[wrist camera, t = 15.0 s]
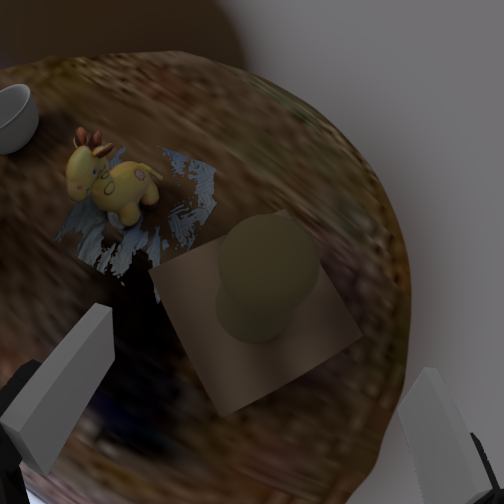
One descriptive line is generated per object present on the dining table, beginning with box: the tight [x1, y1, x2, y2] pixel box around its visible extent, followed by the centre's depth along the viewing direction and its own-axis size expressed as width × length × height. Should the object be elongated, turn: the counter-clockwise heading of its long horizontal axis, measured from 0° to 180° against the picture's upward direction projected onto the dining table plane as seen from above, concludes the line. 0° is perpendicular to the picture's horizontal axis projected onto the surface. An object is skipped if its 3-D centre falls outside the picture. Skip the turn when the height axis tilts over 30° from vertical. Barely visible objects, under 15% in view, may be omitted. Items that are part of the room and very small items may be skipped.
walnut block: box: [148, 209, 363, 418], centre depth 29 cm, size 13×13×8 cm
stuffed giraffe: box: [53, 127, 217, 303], centre depth 30 cm, size 16×18×16 cm
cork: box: [215, 214, 320, 344], centre depth 20 cm, size 6×6×11 cm
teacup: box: [0, 84, 39, 155], centre depth 36 cm, size 14×11×8 cm
